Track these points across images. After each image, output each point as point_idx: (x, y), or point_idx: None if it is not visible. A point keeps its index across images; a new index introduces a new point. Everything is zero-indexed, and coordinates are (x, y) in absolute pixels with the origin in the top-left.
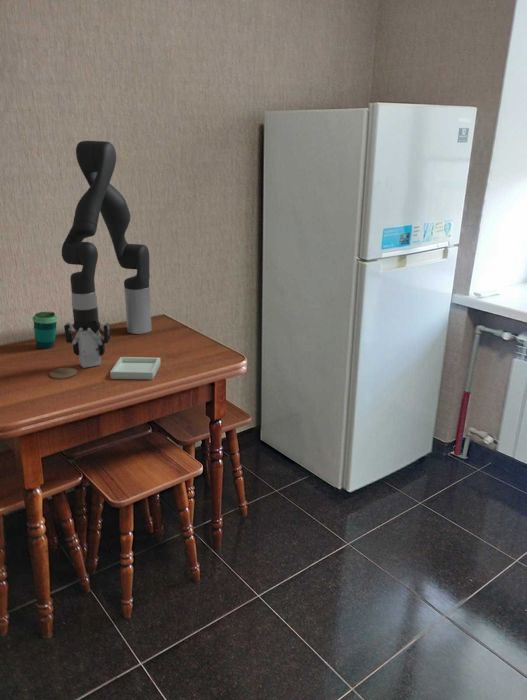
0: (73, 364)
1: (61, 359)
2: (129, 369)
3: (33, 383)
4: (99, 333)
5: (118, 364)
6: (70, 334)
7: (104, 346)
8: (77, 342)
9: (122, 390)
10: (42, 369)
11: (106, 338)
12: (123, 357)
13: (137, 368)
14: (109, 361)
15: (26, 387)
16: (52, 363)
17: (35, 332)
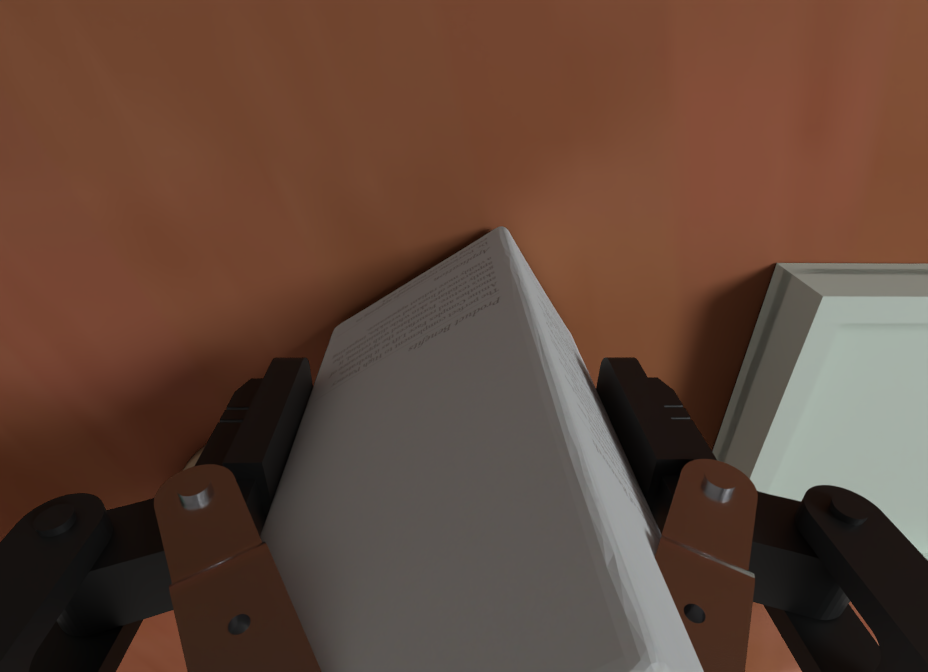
0: (261, 312)
1: (13, 160)
2: (847, 465)
3: (167, 631)
4: (739, 634)
5: (773, 464)
6: (17, 642)
7: (702, 451)
8: (252, 510)
9: (750, 663)
10: (33, 438)
11: (841, 664)
12: (855, 308)
13: (923, 444)
14: (643, 208)
15: (165, 669)
16: (7, 294)
17: None
